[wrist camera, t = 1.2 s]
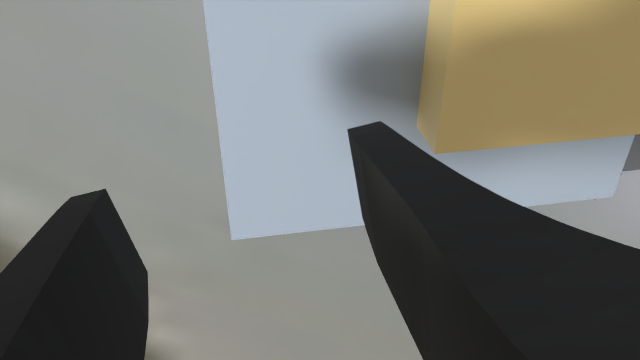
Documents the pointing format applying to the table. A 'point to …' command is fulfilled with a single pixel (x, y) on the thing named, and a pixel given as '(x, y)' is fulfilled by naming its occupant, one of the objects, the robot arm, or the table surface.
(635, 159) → the mat
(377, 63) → the light blue flat slab
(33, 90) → the table surface
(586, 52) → the yellow flat piece
